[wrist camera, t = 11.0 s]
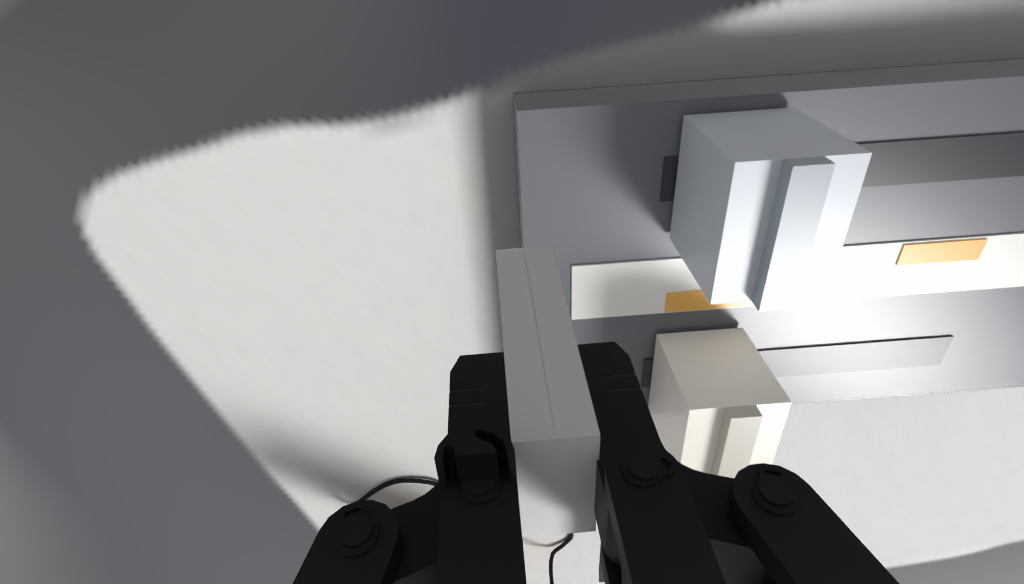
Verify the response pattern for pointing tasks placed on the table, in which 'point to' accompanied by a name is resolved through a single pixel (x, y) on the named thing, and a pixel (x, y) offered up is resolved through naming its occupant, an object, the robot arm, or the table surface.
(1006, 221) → the switch board
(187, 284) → the table surface
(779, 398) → the cream tab
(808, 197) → the cube with side tab
